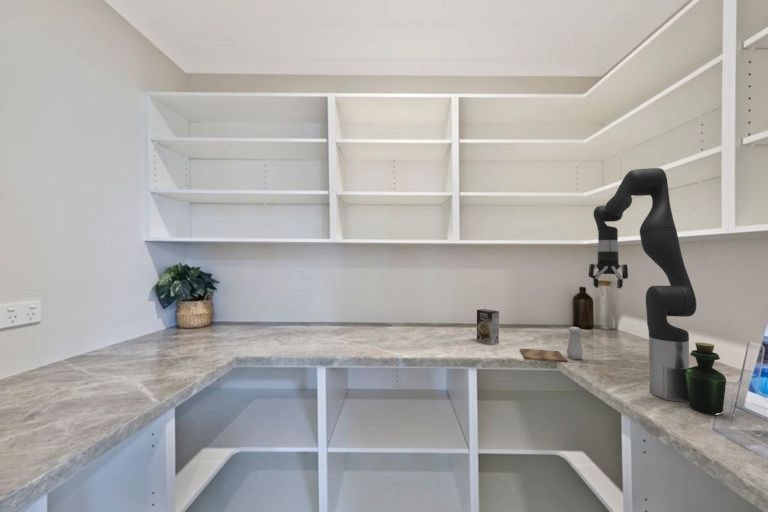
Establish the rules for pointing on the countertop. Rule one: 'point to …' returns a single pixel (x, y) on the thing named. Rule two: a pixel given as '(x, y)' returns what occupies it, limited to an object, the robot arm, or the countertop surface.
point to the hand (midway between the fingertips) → (607, 288)
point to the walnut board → (543, 355)
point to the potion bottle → (705, 381)
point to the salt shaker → (574, 344)
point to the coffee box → (488, 326)
